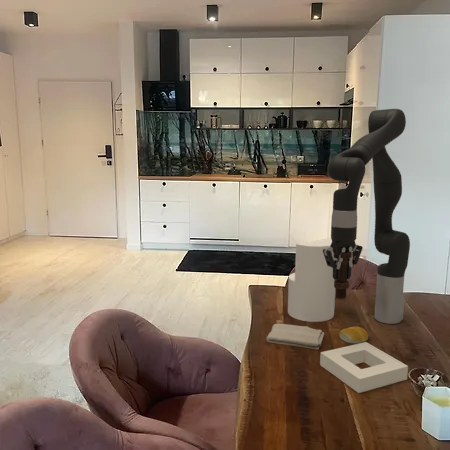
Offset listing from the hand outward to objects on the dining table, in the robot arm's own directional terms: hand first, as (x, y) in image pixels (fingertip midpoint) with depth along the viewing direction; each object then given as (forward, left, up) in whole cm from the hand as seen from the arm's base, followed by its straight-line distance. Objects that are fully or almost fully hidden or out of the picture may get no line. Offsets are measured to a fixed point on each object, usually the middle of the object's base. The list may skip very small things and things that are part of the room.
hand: (341, 278), depth 147 cm
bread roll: (-10, -4, -24) cm, 26 cm away
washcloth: (+8, -12, -24) cm, 28 cm away
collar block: (+3, +15, -23) cm, 28 cm away
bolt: (0, 0, -6) cm, 6 cm away
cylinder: (-10, -29, -23) cm, 39 cm away
